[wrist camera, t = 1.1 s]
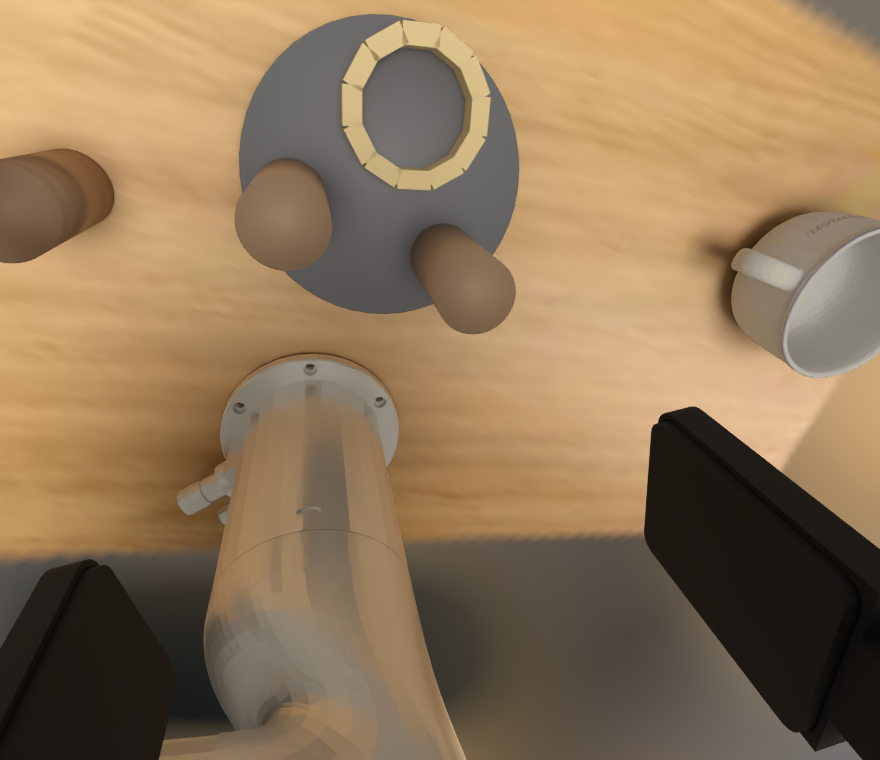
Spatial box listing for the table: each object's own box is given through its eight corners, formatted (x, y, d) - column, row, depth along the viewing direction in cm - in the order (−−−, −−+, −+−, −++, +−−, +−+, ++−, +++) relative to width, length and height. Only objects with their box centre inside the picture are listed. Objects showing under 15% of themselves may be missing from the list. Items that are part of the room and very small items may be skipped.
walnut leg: (70, 238, 30) (-3, 279, 23) (11, 171, 28) (-88, 194, 21) (130, 204, 30) (76, 235, 23) (75, 134, 28) (-2, 145, 21)
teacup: (856, 246, 42) (964, 275, 35) (762, 357, 45) (844, 403, 38) (754, 150, 36) (858, 161, 29) (655, 285, 40) (728, 323, 33)
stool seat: (336, 344, 36) (345, 419, 28) (180, 109, 28) (123, 112, 19) (542, 232, 36) (616, 273, 27) (443, -40, 28) (503, -105, 19)
